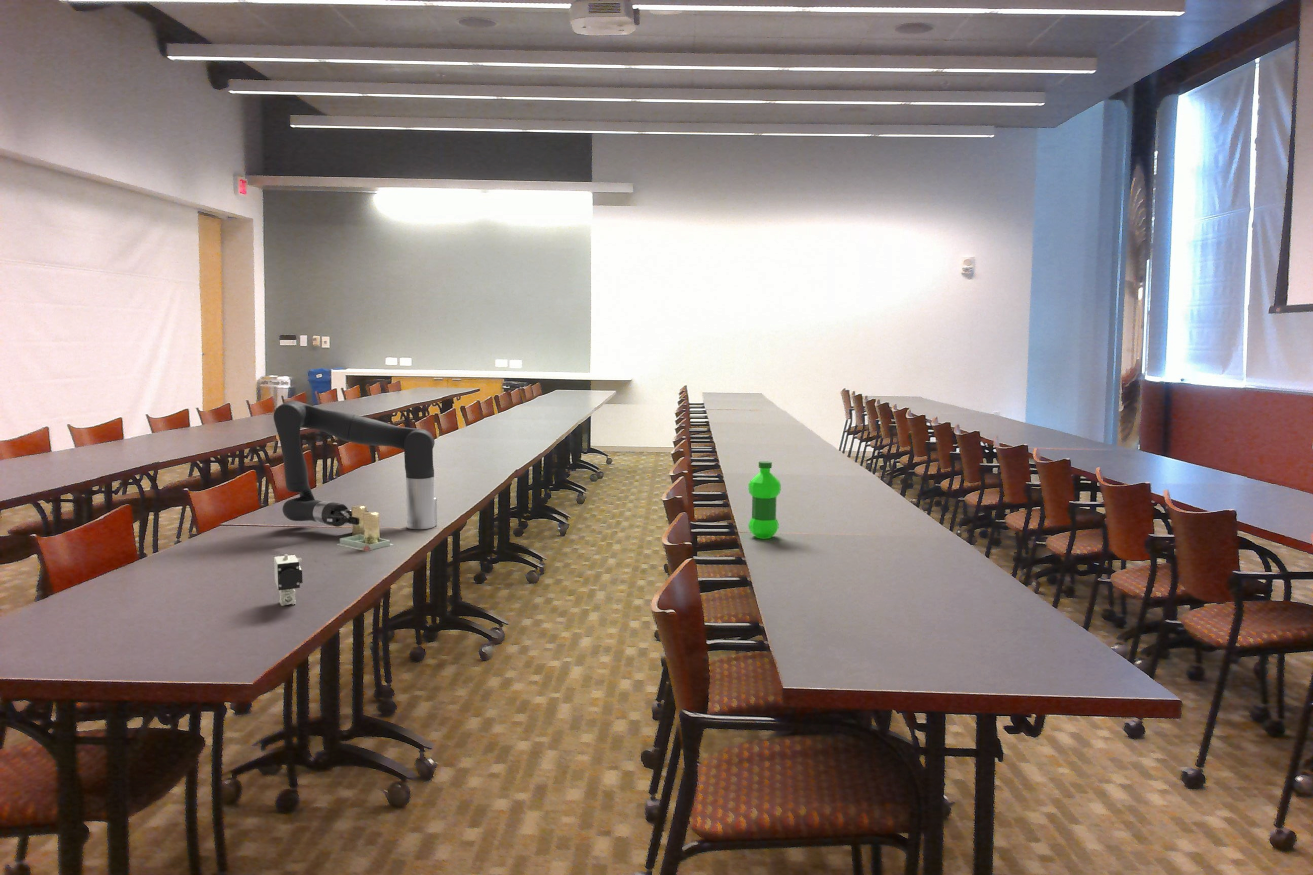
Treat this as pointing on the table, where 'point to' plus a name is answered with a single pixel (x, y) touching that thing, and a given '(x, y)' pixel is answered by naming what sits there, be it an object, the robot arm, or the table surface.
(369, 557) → the table surface
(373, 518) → the seated billet
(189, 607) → the table surface
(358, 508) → the billet
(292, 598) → the pneumatic valve
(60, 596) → the table surface
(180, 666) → the table surface
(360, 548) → the pale green divided tray
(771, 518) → the plastic bottle
